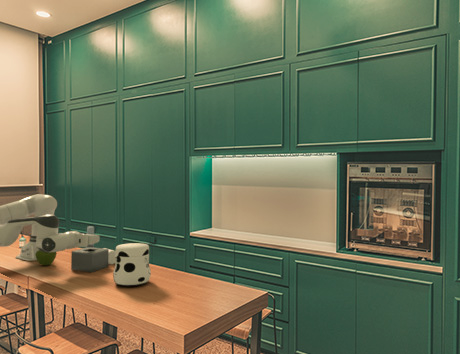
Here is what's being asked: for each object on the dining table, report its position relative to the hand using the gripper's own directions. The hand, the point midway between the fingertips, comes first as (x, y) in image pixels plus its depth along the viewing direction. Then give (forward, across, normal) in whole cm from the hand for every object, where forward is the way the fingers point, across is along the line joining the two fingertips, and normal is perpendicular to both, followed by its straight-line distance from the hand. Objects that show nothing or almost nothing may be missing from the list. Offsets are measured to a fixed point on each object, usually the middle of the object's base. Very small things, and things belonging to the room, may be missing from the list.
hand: (91, 235), depth 201 cm
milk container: (-15, +38, -18) cm, 45 cm away
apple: (-6, -27, -18) cm, 33 cm away
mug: (+15, +1, -18) cm, 24 cm away
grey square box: (-1, 0, -18) cm, 18 cm away
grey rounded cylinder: (-1, 0, -6) cm, 6 cm away
